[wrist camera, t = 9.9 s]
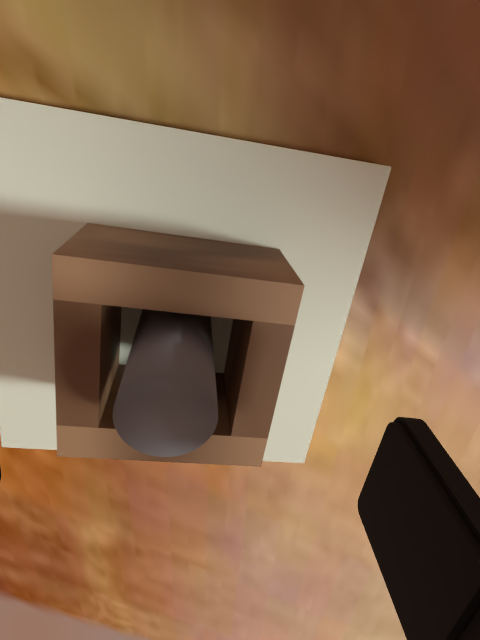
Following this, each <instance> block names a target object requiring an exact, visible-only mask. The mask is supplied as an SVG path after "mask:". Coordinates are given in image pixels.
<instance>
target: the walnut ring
mask: <svg viewBox="0 0 480 640" xmlns="http://www.w3.org/2000/svg"><path fill="white" fill-rule="evenodd" d="M52 283H53V320H54V358H55V395H56V433H57V456H62V457H81V458H101V459H121V460H140V461H160V462H179V463H199V464H218V465H238V466H258V467H261V465H262V461H263V456H264V452H265V448H266V444H267V440H268V436H269V431H270V427H271V423H272V419H273V415H274V411H275V407H276V402H277V398H278V394H279V390H280V386H281V382H282V378H283V373H284V369H285V365H286V361H287V357H288V353H289V348H290V344H291V340H292V336H293V332H294V328H295V324H296V319H297V315H298V311H299V307H300V303H301V299H302V294H303V290H304V286H305V285H304V284H303V282H302V281H301V280H300V278H299V277H298V275H297V274H296V272H295V271H294V269H293V268H292V267H291V265H290V264H289V262H288V261H287V259H286V258H285V256H284V255H283V254H282V252H281V251H280V249H275V248H268V247H261V246H253V245H246V244H239V243H231V242H224V241H217V240H210V239H202V238H195V237H188V236H180V235H173V234H166V233H159V232H151V231H144V230H137V229H129V228H122V227H115V226H108V225H100V224H93V223H87V224H86V225H85V226H84V227H82V228H81V229H80V230H79V231H78V232H77V233H75V234H74V235H73V236H72V237H71V238H70V239H69V240H67V241H66V242H65V243H64V244H63V245H62V246H61V247H59V248H58V249H57V250H56V251H55V252H54V253H53V254H52ZM122 307H129V308H138V309H147V310H156V311H166V312H175V313H184V314H194V315H203V316H212V317H221V318H231V319H233V323H232V328H231V334H230V340H229V346H228V352H227V358H226V364H225V369H224V373H215V378H216V391H217V404H218V422H217V426H216V428H215V431H214V432H213V434H212V436H211V437H210V438H209V439H208V440H207V441H206V442H205V443H204V444H203V445H202V446H200V447H199V448H197V449H196V450H194V451H192V452H189V453H187V454H183V455H180V456H174V457H157V456H151V455H147V454H144V453H142V452H139V451H137V450H135V449H134V448H132V447H130V446H129V445H128V444H126V443H125V442H124V441H123V440H122V438H121V437H120V436H119V434H118V433H117V431H116V429H115V426H114V423H113V407H114V404H115V400H116V397H117V394H118V390H119V387H120V383H121V380H122V377H123V373H124V370H125V367H126V365H122V364H119V354H120V333H121V312H122Z"/></svg>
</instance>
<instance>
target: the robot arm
mask: <svg viewBox="0 0 480 640" xmlns="http://www.w3.org/2000/svg"><path fill="white" fill-rule="evenodd" d="M0 480H1V469H0ZM358 512H359V515H360V518H361V520H362V523H363V525H364V528H365V531H366V533H367V536H368V539H369V541H370V544H371V546H372V549H373V552H374V554H375V557H376V560H377V562H378V565H379V567H380V570H381V573H382V575H383V578H384V581H385V583H386V586H387V588H388V591H389V594H390V596H391V599H392V601H393V604H394V607H395V609H396V612H397V615H398V617H399V620H400V622H401V625H402V628H403V630H404V633H405V636H406V638H407V640H480V498H479V496H478V495H477V493H476V492H475V491H474V489H473V488H472V487H471V485H470V484H469V482H468V481H467V480H466V478H465V477H464V475H463V474H462V473H461V471H460V470H459V469H458V467H457V466H456V464H455V463H454V462H453V460H452V459H451V457H450V456H449V455H448V453H447V452H446V451H445V449H444V448H443V446H442V445H441V444H440V442H439V441H438V439H437V438H436V437H435V435H434V434H433V433H432V431H431V430H430V428H429V427H428V426H427V424H426V423H425V422H424V421H423V420H421V419H415V418H404V417H398V418H396V419H395V420H394V422H391V423H389V424H388V426H387V428H386V430H385V433H384V435H383V438H382V440H381V443H380V445H379V448H378V450H377V453H376V455H375V458H374V460H373V463H372V466H371V468H370V471H369V473H368V476H367V478H366V481H365V483H364V486H363V488H362V491H361V493H360V496H359V499H358Z"/></svg>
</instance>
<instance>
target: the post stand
mask: <svg viewBox="0 0 480 640" xmlns="http://www.w3.org/2000/svg"><path fill="white" fill-rule="evenodd" d="M391 168H392V167H390V166H385V165H380V164H374V163H368V162H363V161H357V160H351V159H346V158H340V157H334V156H329V155H323V154H318V153H312V152H306V151H301V150H295V149H289V148H284V147H278V146H272V145H267V144H261V143H256V142H250V141H244V140H239V139H233V138H227V137H222V136H216V135H211V134H205V133H199V132H194V131H188V130H182V129H177V128H171V127H165V126H160V125H154V124H149V123H143V122H137V121H132V120H126V119H120V118H115V117H109V116H103V115H98V114H92V113H87V112H81V111H75V110H70V109H64V108H58V107H53V106H47V105H42V104H36V103H30V102H25V101H19V100H13V99H8V98H2V97H0V433H1V443H2V447H11V448H30V449H49V450H57V433H56V395H55V358H54V320H53V283H52V254H53V253H54V252H55V251H56V250H57V249H58V248H59V247H61V246H62V245H63V244H64V243H65V242H66V241H67V240H69V239H70V238H71V237H72V236H73V235H74V234H75V233H77V232H78V231H79V230H80V229H81V228H82V227H84V226H85V225H86V224H87V223H93V224H100V225H108V226H115V227H122V228H129V229H137V230H144V231H151V232H159V233H166V234H173V235H180V236H188V237H195V238H202V239H210V240H217V241H224V242H231V243H239V244H246V245H253V246H261V247H268V248H275V249H280V251H281V252H282V254H283V255H284V256H285V258H286V259H287V261H288V262H289V264H290V265H291V267H292V268H293V269H294V271H295V272H296V274H297V275H298V277H299V278H300V280H301V281H302V282H303V284H304V285H305V286H304V290H303V294H302V299H301V303H300V307H299V311H298V315H297V319H296V324H295V328H294V332H293V336H292V340H291V344H290V348H289V353H288V357H287V361H286V365H285V369H284V373H283V378H282V382H281V386H280V390H279V394H278V398H277V402H276V407H275V411H274V415H273V419H272V423H271V427H270V431H269V436H268V440H267V444H266V448H265V452H264V456H263V461H274V462H292V463H304V462H305V458H306V455H307V451H308V448H309V445H310V441H311V438H312V435H313V431H314V428H315V424H316V421H317V418H318V414H319V411H320V408H321V404H322V401H323V397H324V394H325V391H326V387H327V384H328V380H329V377H330V374H331V370H332V367H333V364H334V360H335V357H336V353H337V350H338V347H339V343H340V340H341V337H342V333H343V330H344V326H345V323H346V320H347V316H348V313H349V310H350V306H351V303H352V299H353V296H354V293H355V289H356V286H357V283H358V279H359V276H360V272H361V269H362V266H363V262H364V259H365V255H366V252H367V249H368V245H369V242H370V239H371V235H372V232H373V228H374V225H375V222H376V218H377V215H378V212H379V208H380V205H381V201H382V198H383V195H384V191H385V188H386V185H387V181H388V178H389V174H390V171H391ZM232 323H233V319H231V318H221V317H212V316H203V315H194V314H184V313H175V312H166V311H156V310H147V309H138V308H129V307H122V312H121V333H120V354H119V364H122V365H126V367H125V370H124V373H123V377H122V380H121V383H120V387H119V390H118V394H117V397H116V400H115V404H114V407H113V423H114V426H115V429H116V431H117V433H118V434H119V436H120V437H121V438H122V440H123V441H124V442H125V443H126V444H128V445H129V446H130V447H132V448H134V449H135V450H137V451H139V452H142V453H144V454H147V455H151V456H157V457H174V456H180V455H183V454H187V453H189V452H192V451H194V450H196V449H197V448H199V447H200V446H202V445H203V444H204V443H205V442H206V441H207V440H208V439H209V438H210V437H211V436H212V434H213V432H214V431H215V428H216V426H217V422H218V404H217V391H216V378H215V373H224V369H225V364H226V358H227V352H228V346H229V340H230V334H231V328H232Z"/></svg>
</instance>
